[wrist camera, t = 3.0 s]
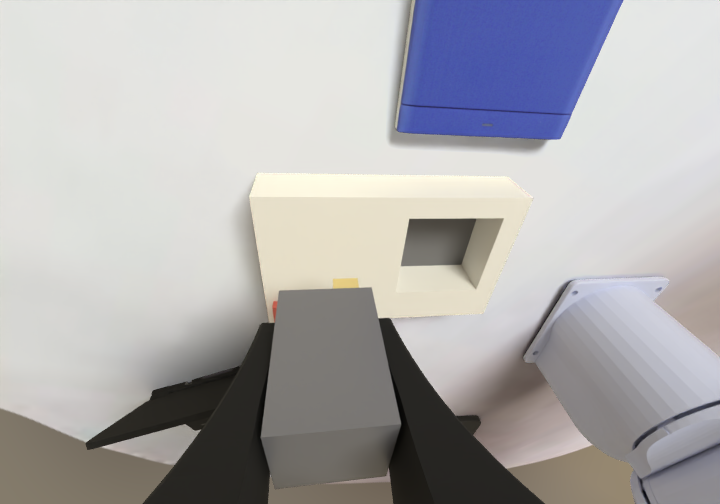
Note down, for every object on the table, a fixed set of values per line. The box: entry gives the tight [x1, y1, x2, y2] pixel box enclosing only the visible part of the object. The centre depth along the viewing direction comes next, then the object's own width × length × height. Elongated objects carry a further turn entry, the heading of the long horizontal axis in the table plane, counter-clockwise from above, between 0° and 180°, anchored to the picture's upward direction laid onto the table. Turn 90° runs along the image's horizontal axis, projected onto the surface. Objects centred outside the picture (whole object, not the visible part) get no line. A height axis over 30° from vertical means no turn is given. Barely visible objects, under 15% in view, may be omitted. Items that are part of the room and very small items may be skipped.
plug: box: [261, 278, 401, 489], centre depth 11 cm, size 3×3×6 cm
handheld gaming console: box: [86, 366, 241, 450], centre depth 23 cm, size 12×7×10 cm
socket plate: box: [249, 173, 533, 323], centre depth 17 cm, size 8×13×3 cm, turn 87°
